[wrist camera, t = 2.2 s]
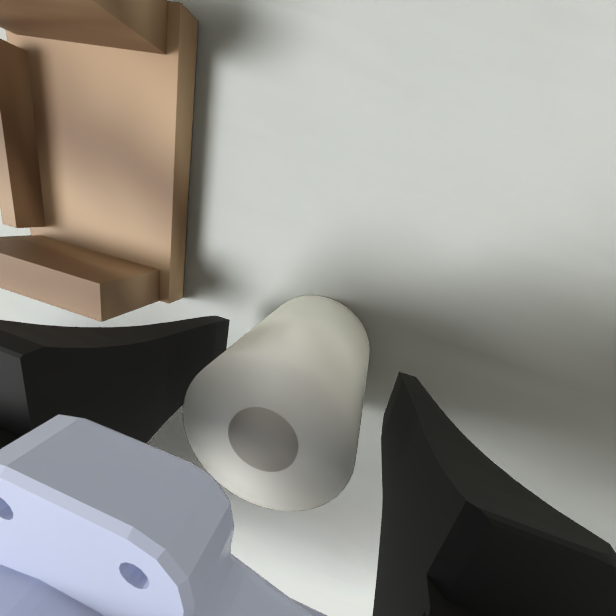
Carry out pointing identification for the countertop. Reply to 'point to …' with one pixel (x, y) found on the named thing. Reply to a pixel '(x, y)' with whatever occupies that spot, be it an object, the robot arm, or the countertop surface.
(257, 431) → the paper roll
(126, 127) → the holder
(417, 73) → the countertop surface
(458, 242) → the countertop surface
